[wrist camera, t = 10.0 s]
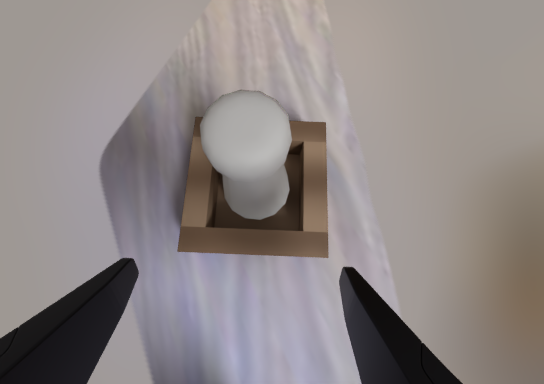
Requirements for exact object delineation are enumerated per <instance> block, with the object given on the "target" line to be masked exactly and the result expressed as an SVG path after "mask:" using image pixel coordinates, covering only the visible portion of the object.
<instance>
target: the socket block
mask: <svg viewBox="0 0 544 384" xmlns="http://www.w3.org/2000/svg"><path fill="white" fill-rule="evenodd" d="M202 119H203V117H196V118H195V125H194V133H193V140H192V147H191V155H190V162H189V170H188V177H187V185H186V192H185V199H184V207H183V214H182V222H181V229H180V236H179V244H178V251H177V252H199V253H224V254H249V255H273V256H298V257H322V258H328V211H327V159H326V122H304V121H289V124H290V130H291V136H292V142H291V145H290V148H289V151H288V154H287V157H286V161H285V163H284V166H285V169H286V172H287V176H288V182H289V189H290V190H289V193H288V196H287V200H286V203H285V204H284V205H283V206H282V207H281V208H280V209H279V211H278V212H277V213H276V214H274V215H272V216H269V217H266V218H264V219H261V220H258V219H248V218H244V217H242V216H241V215H239V214H237V213H236V212H234V211H232V209H231V208H230V206H229V204H228V203H227V201H226V199H225V197H224V188H223V176H222V174H221V173H220V172H218V171H217V170H216V169H215V168H214V167H213V166H212V164H211V163H210V161H209V159H208V158H207V156H206V154H205V153H204V151H203V148H202V144H201V133H200V124H201V122H202Z"/></svg>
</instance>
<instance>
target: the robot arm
mask: <svg viewBox="0 0 544 384" xmlns="http://www.w3.org/2000/svg"><path fill="white" fill-rule="evenodd" d="M138 274H139V272H138V269H137V266H136V263H135V261H134V259H132V258H122V259H120V260H119V261H117V262H116V263H114V264H113V265H111V266H110V267H108V268H107V269H105V270H104V271H102V272H100V273H99V274H97V275H96V276H94V277H93V278H91V279H90V280H89V281H87V282H85V283H84V284H82V285H81V286H79V287H78V288H76V289H75V290H74V291H72V292H70V293H69V294H67V295H66V296H64V297H63V298H61V299H60V300H58V301H57V302H55V303H54V304H52V305H50V306H49V307H47V308H46V309H44V310H43V311H41V312H40V313H38V314H37V315H36V316H34V317H32V318H31V319H29V320H28V321H26V322H25V323H23V324H22V325H20V326H19V328H16V329H14V330H13V331H11V332H9V333H8V334H6V335H5V336H3V337H2V338H0V384H87V382H88V380H89V378H90V376H91V374H92V372H93V371H94V369H95V366H96V365H97V363H98V361H99V359H100V357H101V355H102V353H103V351H104V349H105V347H106V345H107V343H108V341H109V339H110V338H111V336H112V334H113V332H114V330H115V328H116V326H117V324H118V322H119V320H120V318H121V316H122V314H123V312H124V310H125V307H126V305H127V303H128V300H129V298H130V295H131V293H132V290H133V288H134V285H135V283H136V280H137V278H138ZM339 285H340V291H341V298H342V304H343V311H344V317H345V322H346V326H347V330H348V334H349V337H350V341H351V345H352V349H353V352H354V356H355V360H356V364H357V367H358V371H359V375H360V379H361V382H362V384H463V383H461V382H460V381H459V380H458V379H457V378H456V377H455V376H454V375H453V374H452V373H451V372H450V371H449V370H448V369H447V368H446V367H445V366H444V365H443V364H442V362H440V360H439V359H438V358H437V357H436V356H435V355H434V354H433V353H432V352H431V351H430V350H429V349H428V348H427V347H426V345H425V344H424V343H422V342H421V340H420V339H419V338H418V337H417V336H416V335H415V334H414V333H413V331H412V330H411V329H410V328H409V327H408V326H407V325H406V324H405V323H404V322H403V321H402V320H401V318H400V317H399V316H398V315H397V314H396V313H395V312H394V311H393V310H392V309H391V308H390V306H389V305H388V304H387V303H386V302H385V301H384V300H383V299H382V298H381V297H380V296H379V295H378V293H377V292H376V291H375V290H374V289H373V288H372V287H371V286H370V285H369V284H368V283H367V281H366V280H365V279H364V278H363V277H362V276H361V275H360V274H359V273H358V272H357V271H356V270H355V269H354V268H353V267H343V269H342V272H341V276H340V279H339Z"/></svg>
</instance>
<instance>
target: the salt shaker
mask: <svg viewBox="0 0 544 384" xmlns="http://www.w3.org/2000/svg"><path fill="white" fill-rule="evenodd" d="M200 133H201V144H202V148H203V151H204V153H205V154H206V156H207V158H208V159H209V161H210V163H211V164H212V166H213V167H214V168H215V169H216V170H217V171H218V172H220V173H221V174H222V176H223V188H224V197H225V199H226V201H227V203H228V204H229V206H230V208H231V209H232V211H234V212H236V213H237V214H239V215H241V216H242V217H244V218H248V219H258V220H261V219H264V218H266V217H269V216H272V215H274V214H276V213H277V212H278V211H279V209H280V208H281V207H282V206H283V205H284V204H285V203H286V200H287V196H288V193H289V190H290V189H289V182H288V176H287V172H286V169H285V166H284V163H285V161H286V157H287V154H288V151H289V148H290V145H291V142H292V136H291V130H290V124H289V117H288V114H287V113H286V112H285V110H284V109H283V108H282V106H281V105H280V104H279V103H278V101H277V100H275V99H273V98H271V97H270V96H268V95H266V94H264V93H262V92H260V91H249V90H239V91H235V92H232V93H229V94H225V95H222V96H221V97H220V98H219V99H218V100H216V101H215V102H214V103H213V104H212V105H211V106H210V107H208V109H207V111H206V113H205V115H204V117H203V119H202V122H201V124H200Z"/></svg>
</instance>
